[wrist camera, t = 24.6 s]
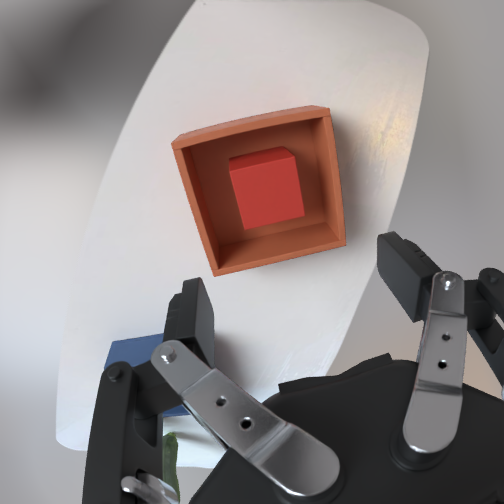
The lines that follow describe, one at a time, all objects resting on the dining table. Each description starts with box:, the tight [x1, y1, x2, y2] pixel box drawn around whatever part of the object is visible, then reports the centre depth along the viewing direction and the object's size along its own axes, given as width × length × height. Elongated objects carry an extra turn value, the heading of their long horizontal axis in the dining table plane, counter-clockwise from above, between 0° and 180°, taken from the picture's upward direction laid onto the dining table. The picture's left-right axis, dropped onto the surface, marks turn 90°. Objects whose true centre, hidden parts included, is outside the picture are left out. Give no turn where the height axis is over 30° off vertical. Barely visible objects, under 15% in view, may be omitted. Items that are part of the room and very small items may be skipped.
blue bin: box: [104, 333, 215, 417], centre depth 34 cm, size 11×11×4 cm
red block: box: [229, 146, 305, 230], centre depth 23 cm, size 5×5×5 cm
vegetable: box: [163, 433, 180, 503], centre depth 37 cm, size 4×4×20 cm
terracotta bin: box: [171, 105, 346, 277], centre depth 24 cm, size 11×11×4 cm
